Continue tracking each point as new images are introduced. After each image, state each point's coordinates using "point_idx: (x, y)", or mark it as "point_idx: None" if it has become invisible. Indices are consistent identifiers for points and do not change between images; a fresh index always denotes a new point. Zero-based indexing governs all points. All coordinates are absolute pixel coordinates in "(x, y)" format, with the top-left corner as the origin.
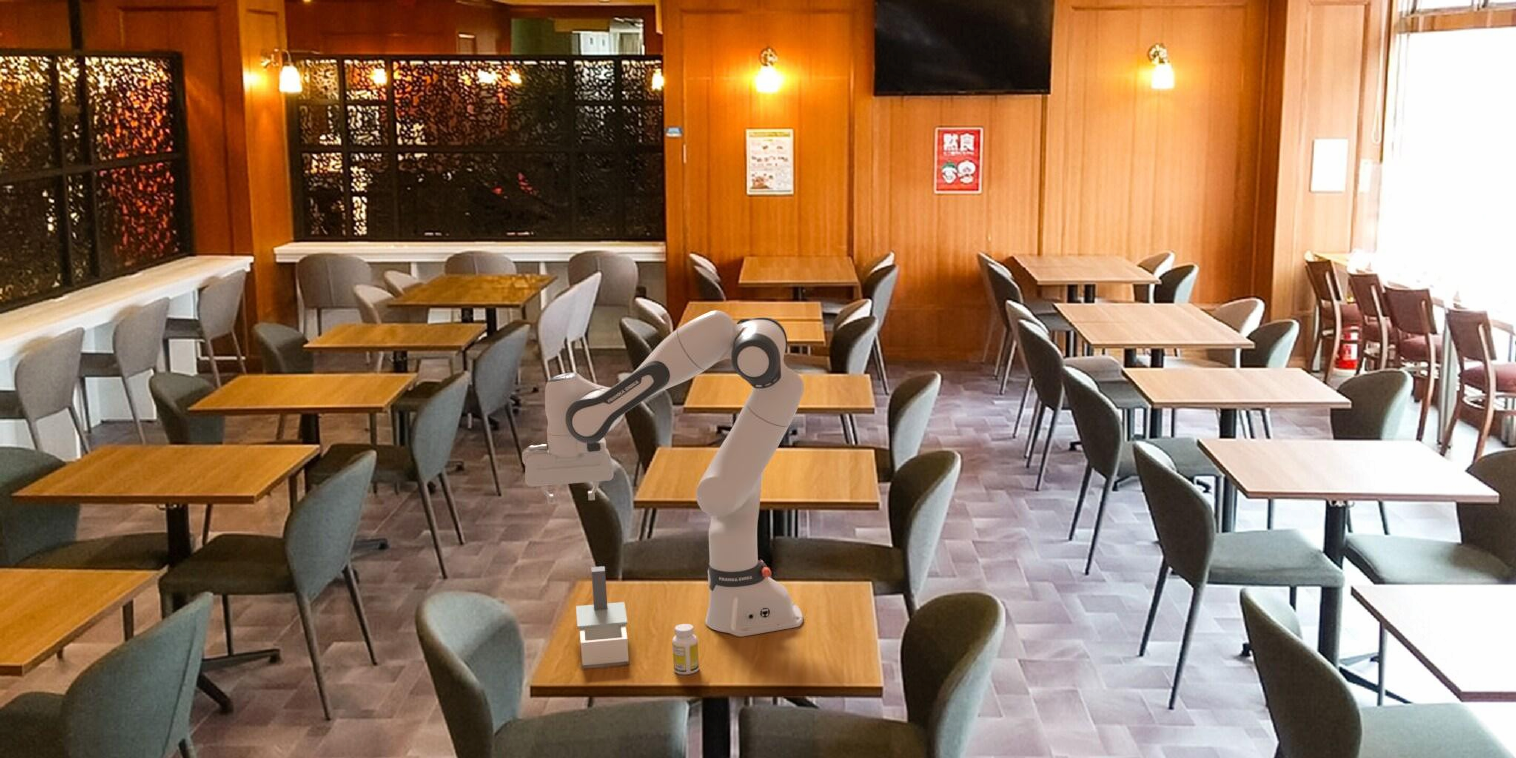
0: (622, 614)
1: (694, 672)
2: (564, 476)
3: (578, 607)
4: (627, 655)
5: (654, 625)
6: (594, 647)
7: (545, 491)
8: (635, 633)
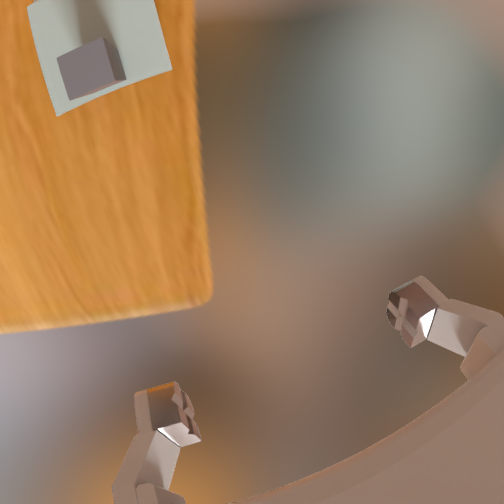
0: (43, 41)
1: None
2: (442, 482)
3: (163, 61)
4: None
5: (28, 142)
6: None
7: (477, 317)
8: None
